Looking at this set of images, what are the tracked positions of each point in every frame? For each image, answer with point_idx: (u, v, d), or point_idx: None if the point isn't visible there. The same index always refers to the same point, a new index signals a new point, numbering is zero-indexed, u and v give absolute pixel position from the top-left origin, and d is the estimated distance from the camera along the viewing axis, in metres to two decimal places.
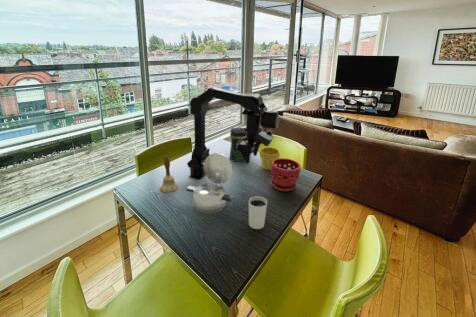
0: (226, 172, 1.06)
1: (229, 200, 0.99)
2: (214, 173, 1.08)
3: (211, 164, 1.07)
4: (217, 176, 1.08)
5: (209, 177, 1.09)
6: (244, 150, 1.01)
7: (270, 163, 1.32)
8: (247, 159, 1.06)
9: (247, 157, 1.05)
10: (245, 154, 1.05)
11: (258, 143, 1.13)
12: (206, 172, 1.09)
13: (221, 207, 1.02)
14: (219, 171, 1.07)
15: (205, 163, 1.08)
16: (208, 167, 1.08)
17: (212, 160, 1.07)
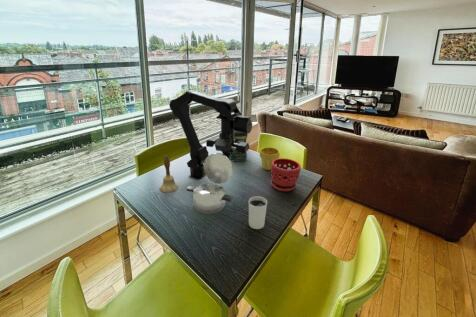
0: (226, 172, 1.06)
1: (229, 200, 0.99)
2: (214, 173, 1.08)
3: (211, 164, 1.07)
4: (217, 176, 1.08)
5: (209, 177, 1.09)
6: None
7: (270, 163, 1.32)
8: None
9: None
10: None
11: None
12: (206, 172, 1.09)
13: (221, 207, 1.02)
14: (219, 171, 1.07)
15: (205, 163, 1.08)
16: (208, 167, 1.08)
17: (212, 160, 1.07)
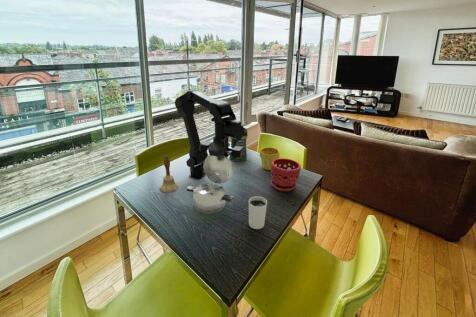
0: (226, 172, 1.05)
1: (229, 200, 0.99)
2: (214, 173, 1.08)
3: (211, 164, 1.07)
4: (217, 176, 1.08)
5: (209, 177, 1.09)
6: None
7: (270, 163, 1.32)
8: None
9: None
10: None
11: None
12: (205, 172, 1.09)
13: (221, 207, 1.02)
14: (219, 171, 1.06)
15: (205, 163, 1.08)
16: (208, 167, 1.08)
17: (212, 160, 1.06)
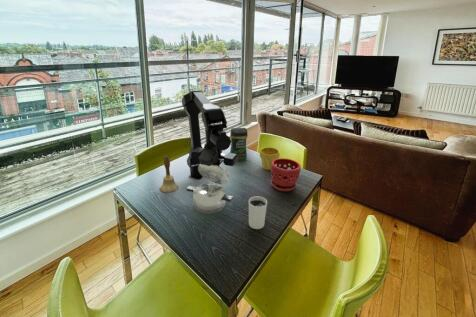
0: (222, 177, 1.03)
1: (229, 200, 0.99)
2: (211, 177, 1.06)
3: (205, 171, 1.04)
4: (215, 179, 1.06)
5: (208, 179, 1.08)
6: None
7: (270, 163, 1.32)
8: None
9: None
10: None
11: None
12: (203, 175, 1.07)
13: (221, 207, 1.02)
14: (215, 176, 1.04)
15: (199, 170, 1.05)
16: (203, 172, 1.05)
17: (205, 168, 1.02)
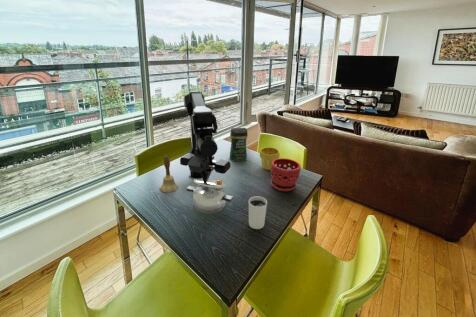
0: None
1: (229, 200, 0.99)
2: None
3: None
4: None
5: None
6: None
7: (270, 163, 1.32)
8: None
9: None
10: None
11: None
12: None
13: (221, 207, 1.02)
14: None
15: None
16: None
17: None
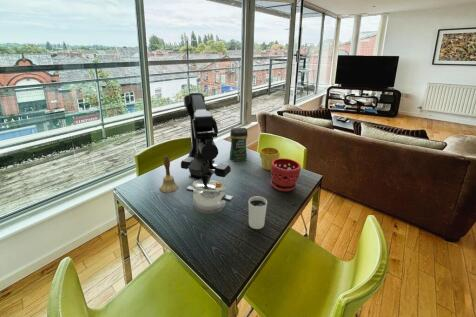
0: None
1: (229, 200, 0.99)
2: None
3: None
4: None
5: None
6: None
7: (270, 163, 1.32)
8: None
9: None
10: None
11: None
12: None
13: (221, 207, 1.02)
14: None
15: None
16: None
17: None
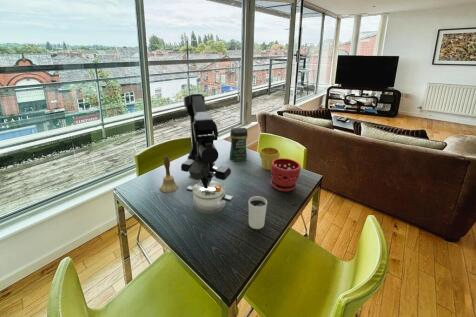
0: None
1: (229, 200, 0.99)
2: None
3: None
4: None
5: None
6: None
7: (270, 163, 1.32)
8: None
9: None
10: None
11: None
12: None
13: (221, 207, 1.02)
14: None
15: None
16: None
17: None
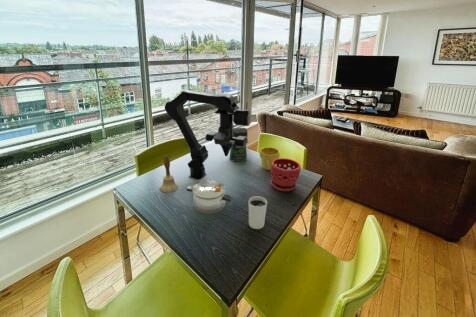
0: None
1: (229, 200, 0.99)
2: None
3: None
4: None
5: None
6: None
7: (270, 163, 1.32)
8: None
9: None
10: None
11: None
12: None
13: (221, 207, 1.02)
14: None
15: None
16: None
17: None
